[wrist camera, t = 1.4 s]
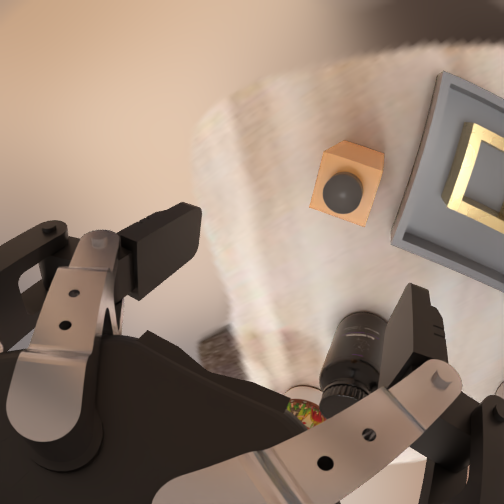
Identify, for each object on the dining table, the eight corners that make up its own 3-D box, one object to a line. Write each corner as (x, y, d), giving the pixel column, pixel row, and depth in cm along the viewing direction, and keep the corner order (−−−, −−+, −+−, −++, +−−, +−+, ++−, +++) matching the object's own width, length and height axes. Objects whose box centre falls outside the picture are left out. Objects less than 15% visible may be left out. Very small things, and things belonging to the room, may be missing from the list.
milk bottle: (339, 415, 42) (296, 529, 26) (295, 416, 46) (244, 518, 30) (324, 382, 41) (272, 507, 24) (277, 385, 45) (215, 494, 28)
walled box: (579, 157, 16) (596, 163, 13) (525, 290, 24) (535, 307, 21) (437, 75, 21) (443, 70, 18) (390, 231, 29) (390, 244, 26)
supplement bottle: (373, 300, 33) (358, 378, 23) (401, 342, 33) (393, 422, 23) (325, 324, 37) (294, 398, 27) (354, 361, 37) (332, 437, 27)
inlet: (528, 155, 19) (543, 161, 16) (502, 226, 23) (514, 239, 20) (464, 121, 21) (474, 122, 18) (440, 196, 25) (447, 207, 22)
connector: (384, 153, 26) (382, 175, 17) (372, 192, 28) (362, 235, 19) (344, 140, 27) (318, 154, 18) (333, 179, 29) (303, 213, 20)
